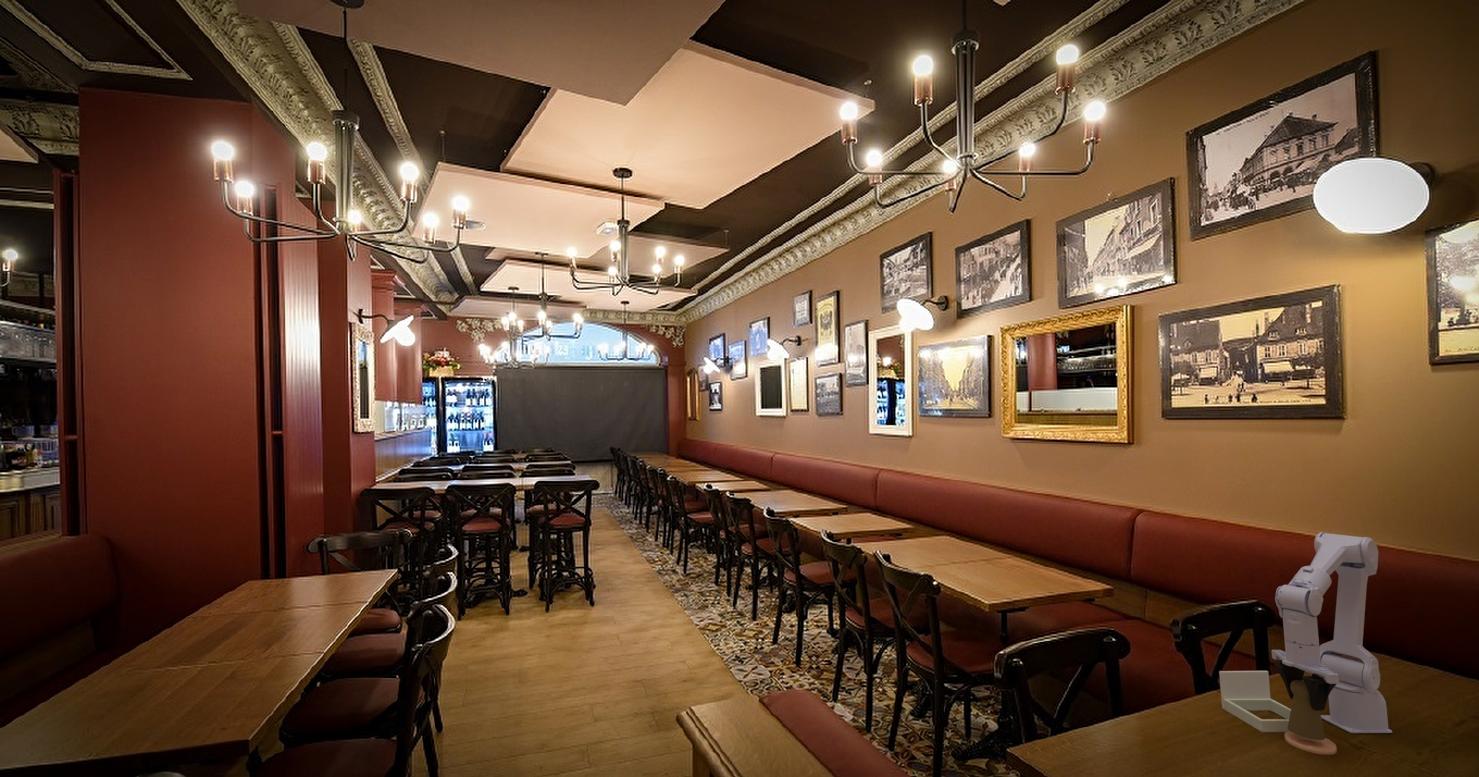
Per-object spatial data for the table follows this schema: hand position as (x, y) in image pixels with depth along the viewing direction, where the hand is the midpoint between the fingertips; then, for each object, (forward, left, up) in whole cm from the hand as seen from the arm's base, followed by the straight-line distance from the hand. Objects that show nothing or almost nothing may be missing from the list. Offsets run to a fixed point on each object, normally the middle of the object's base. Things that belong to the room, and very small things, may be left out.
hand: (1306, 703), depth 135 cm
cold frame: (0, -12, -9) cm, 14 cm away
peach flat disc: (0, 0, -9) cm, 9 cm away
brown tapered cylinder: (+1, 0, -6) cm, 6 cm away
